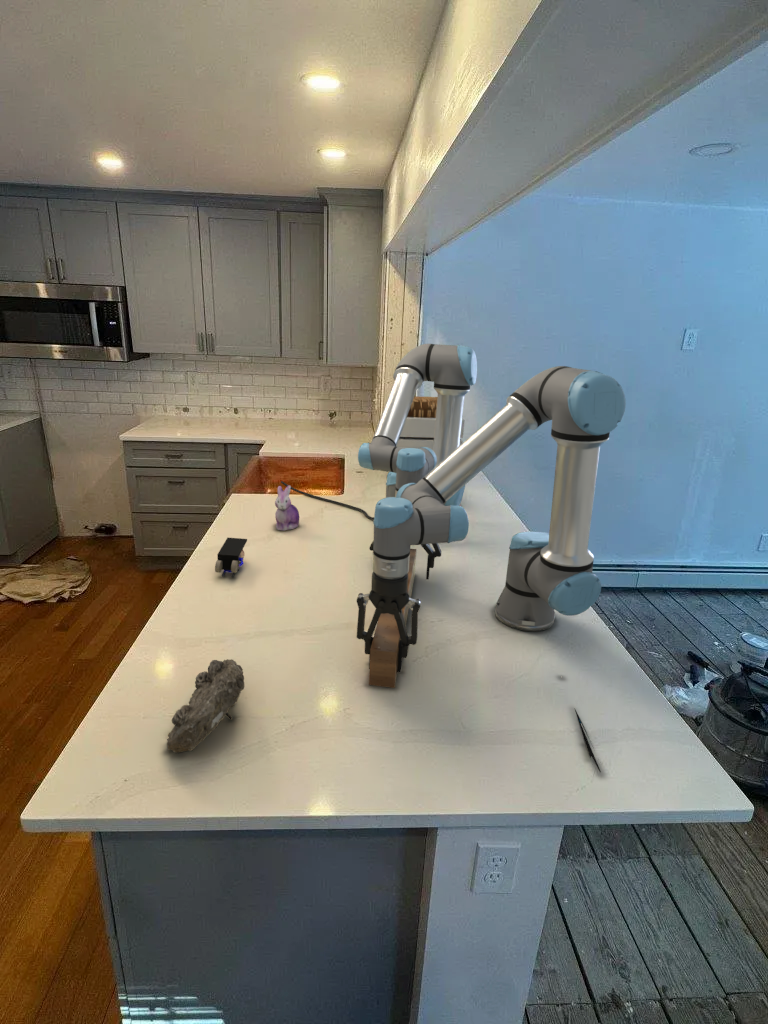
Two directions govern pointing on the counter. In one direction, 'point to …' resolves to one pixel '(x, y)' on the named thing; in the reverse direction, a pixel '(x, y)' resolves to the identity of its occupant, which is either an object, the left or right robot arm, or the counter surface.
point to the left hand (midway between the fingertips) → (403, 575)
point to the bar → (389, 640)
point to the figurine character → (230, 556)
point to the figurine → (285, 511)
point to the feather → (587, 741)
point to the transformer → (421, 424)
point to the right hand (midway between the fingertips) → (385, 667)
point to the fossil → (206, 705)
